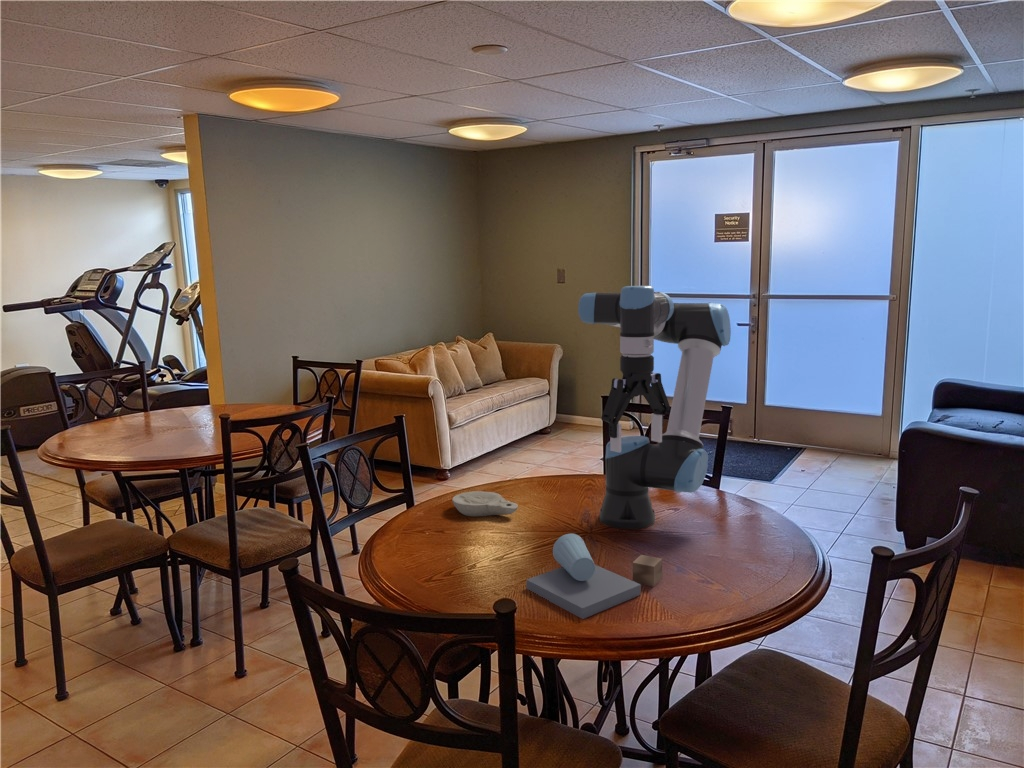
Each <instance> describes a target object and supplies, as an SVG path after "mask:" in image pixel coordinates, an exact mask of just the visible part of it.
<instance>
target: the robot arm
mask: <svg viewBox="0 0 1024 768" xmlns="http://www.w3.org/2000/svg"><path fill="white" fill-rule="evenodd" d="M578 316H579V319H580V321H581V322H582V323H585V324H592V325H595V324H596V325H597V324H598V325H605V326H611V327H617V328H620V331H619V332H620V333H619V334H620V335H619V353H620V354H622V355H621V356H620V357H619V363H620V364H619V366H620V368H619V370H620V372H621V373H622V377H621V378H622V379H620V378H612V379H611V386H610V387H611V388H610V391H609V394H608V397H607V400H606V403H605V406H604V409H603V411H602V415H601V418H600V419H601V421H603V422H605V423H608V438H609V439H610V440H609V441H608V442H607V444H606V446H605V456H604V459H605V494H604V497H603V500H602V504H601V508H600V509H599V521H600V523H601V524H603V525H604V526H608V527H610V528H612V529H613V528H614V529H618V530H619V529H621V530H639V529H644V528H649V527H650V526H652V525H653V524H654V523H655V522H656V513H655V509H654V508H653V505H652V501H651V497H650V493H649V491H650V489H657V490H665V491H672V492H675V493H676V492H677V493H689V494H691V493H695V492H697V491H698V489H700V488H701V486H702V485H703V483H704V480H705V478H706V474H707V471H708V465H709V464H708V462H709V454H708V452H707V451H706V450H705V449H704V443H703V442H702V440H700V434H701V427H702V422H703V417H704V413H705V406H706V401H707V396H708V395H707V394H708V389H709V385H710V379H711V374H712V368H713V364H714V363H713V361H714V358H715V357H717V356H718V355H720V354H721V350H722V346H723V347H725V346H729V344H730V342H731V334H732V330H731V320H730V315H729V311H728V309H727V307H726V305H724V304H722V303H716V302H715V303H714V302H713V303H712V302H707V303H706V302H705V303H704V302H701V303H700V302H699V303H698V302H692V303H691V302H674V301H673V300H672V298H671V297H670V296H669V295H668V294H666V293H664V292H660V291H655V289H654V287H653V286H651V285H626V286H623V287H622V288H621V289H620V292H596V291H595V292H590V293H589V292H588V293H584V294H583V295H581V297H580V298H579V301H578ZM654 341H660V342H662V343H663V342H664V343H668V344H674V345H675V344H677V347H678V349H679V351H680V352H681V357H680V363H679V366H678V372H677V377H676V382H675V387H674V391H673V397H672V402H671V406H670V402H669V401H668V397H667V394H666V391H665V388H664V385H663V382H662V374H661V373H660V372H654V369H655V361H654V360H655V357H654V356H653V355H652V354H653V353H654ZM639 396H643V397H644V399H645V400H646V402H647V404H648V405H649V407H650V408H651V409H652V411H653V413H651V415H650V416H651V417H650V419H651V420H650V421H651V422H650V424H651V425H650V426H651V427H650V428H651V429H650V433H651V434H650V438H649V437H648V436H644V435H628V436H622V423H619V422H620V420H621V419H622V418H623V415H624V413H625V411H626V409H627V407H628V405H629V404H630V402H631V400H633V399H634V398H635V397H639ZM668 411H670V413H669V418H668V422H667V428H666V431H665V432H664V433H663V427H664V416H665V415H667V414H668ZM650 441H651V442H657V444H654V443H650ZM649 488H650V489H649Z"/></svg>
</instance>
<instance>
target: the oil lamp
mask: <svg viewBox="0 0 1024 768" xmlns="http://www.w3.org/2000/svg"><path fill="white" fill-rule="evenodd" d="M451 501H452V503H453V506H454V507H455V508H456V510H457V511H458V512H459V513H460V514H462V515H464V516H467V517H476V518H477V517H487V516H488V517H489V516H495V515H496V516H505V515H506V516H507V515H508V516H509V515H511V514H514V513H515V512H516V511H517V510H518V508H519V504H517V503H516V502H513V501H510V500H506V498H504V497H503V496H502V495H501V494H499V493H498V492H493V491H484V490H483V491H480V490H476V491H475V490H472V491H466V492H461V493H459V494H458V493H457V494H456V495H455V496H453V497H452V500H451Z"/></svg>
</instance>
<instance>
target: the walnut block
mask: <svg viewBox="0 0 1024 768" xmlns="http://www.w3.org/2000/svg"><path fill="white" fill-rule="evenodd" d="M662 579H663V558H660V557H655V556H650V555H645V554H640V555H639V556H638V557H637V558H635V560H634V561H632V581H634V582H636V583H638V584H641V585H644V586H649V587H652V588H655V586H656V585H658V583H659V582H660V581H661V580H662Z"/></svg>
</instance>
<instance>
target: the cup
mask: <svg viewBox="0 0 1024 768" xmlns="http://www.w3.org/2000/svg"><path fill="white" fill-rule="evenodd" d="M552 555H553V558H554V560H555V561H556V562H557V563H558V564H559V565H560V566H561V567H563V568H564V569H565V570H566V571H567V572H568V573H569V574H570V575H571V576H572V577H573V578H574V579H576V580H578V581H585V580H588V579H589V578H591V577H592V575H593V574H594V572H595V565H596V564H595V562H594V560H593V558H592V556H591V554H590V551H589V550H588V548H587V546H586V543H585V541H584V539H583V538H582V537H581V536H580V535H578V534H576V533H566V534H563V535H561V536H560V537H559V538H558V539H556V541H555V542H554V544H553V547H552Z"/></svg>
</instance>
